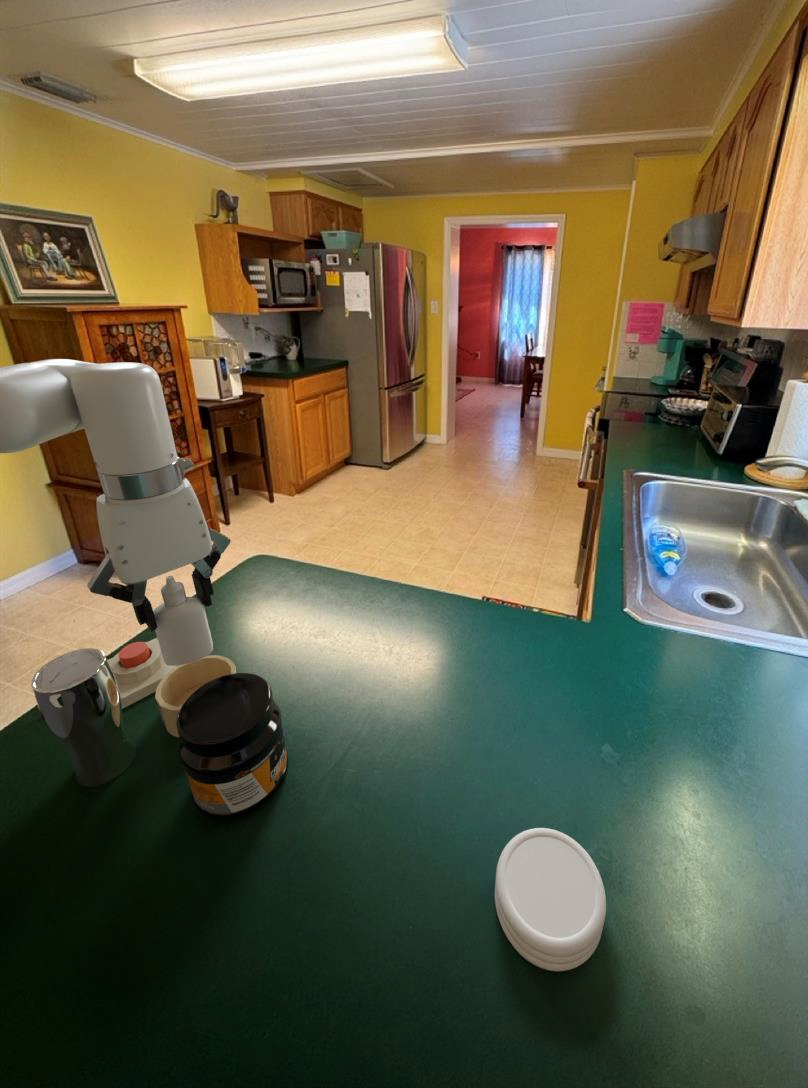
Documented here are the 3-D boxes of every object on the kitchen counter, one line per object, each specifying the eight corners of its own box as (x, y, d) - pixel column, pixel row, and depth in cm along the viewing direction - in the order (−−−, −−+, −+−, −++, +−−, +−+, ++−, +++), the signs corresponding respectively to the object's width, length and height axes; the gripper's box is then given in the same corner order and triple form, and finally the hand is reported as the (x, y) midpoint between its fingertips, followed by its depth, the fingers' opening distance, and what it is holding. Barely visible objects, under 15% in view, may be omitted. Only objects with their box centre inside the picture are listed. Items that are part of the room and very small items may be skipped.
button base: (100, 672, 71) (94, 654, 70) (159, 646, 76) (153, 628, 75) (120, 710, 65) (113, 691, 63) (182, 678, 70) (177, 659, 69)
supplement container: (251, 839, 50) (231, 760, 45) (171, 809, 52) (145, 731, 48) (307, 752, 59) (295, 679, 54) (237, 731, 62) (220, 659, 57)
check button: (118, 659, 69) (115, 650, 69) (145, 647, 72) (142, 638, 71) (125, 672, 67) (122, 662, 66) (153, 658, 69) (150, 649, 69)
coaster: (623, 957, 41) (629, 934, 40) (514, 989, 39) (517, 967, 38) (572, 837, 50) (576, 815, 49) (482, 858, 48) (483, 836, 47)
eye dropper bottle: (178, 642, 64) (157, 566, 59) (219, 644, 63) (201, 568, 59) (158, 666, 60) (134, 587, 55) (202, 668, 59) (181, 588, 55)
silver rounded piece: (88, 803, 53) (44, 704, 47) (60, 772, 56) (17, 676, 51) (151, 755, 58) (119, 661, 53) (123, 729, 62) (90, 638, 56)
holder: (153, 709, 65) (145, 681, 63) (223, 671, 71) (217, 645, 69) (180, 752, 59) (171, 723, 57) (253, 706, 65) (248, 679, 63)
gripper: (209, 453, 60) (233, 573, 67) (37, 492, 48) (88, 632, 55) (235, 467, 55) (258, 595, 62) (52, 514, 44) (106, 665, 51)
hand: (178, 611), depth 59 cm, fingers closed on eye dropper bottle, 5 cm apart
